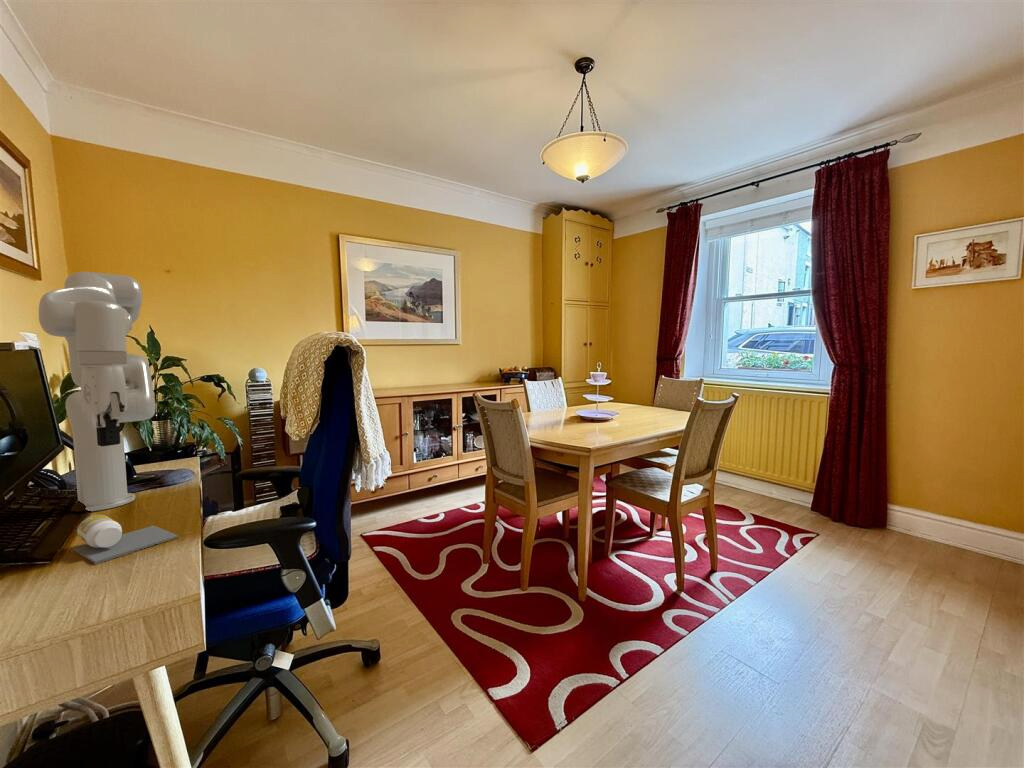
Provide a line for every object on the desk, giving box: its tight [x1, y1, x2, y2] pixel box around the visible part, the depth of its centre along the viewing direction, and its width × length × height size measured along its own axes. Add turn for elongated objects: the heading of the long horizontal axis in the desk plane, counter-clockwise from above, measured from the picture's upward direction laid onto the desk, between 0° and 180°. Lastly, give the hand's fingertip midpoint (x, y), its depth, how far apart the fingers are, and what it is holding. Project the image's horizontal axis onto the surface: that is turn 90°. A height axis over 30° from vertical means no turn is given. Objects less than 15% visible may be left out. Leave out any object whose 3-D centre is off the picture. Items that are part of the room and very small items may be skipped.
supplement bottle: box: [76, 514, 123, 548], centre depth 84 cm, size 5×5×10 cm
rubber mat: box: [73, 525, 179, 565], centre depth 86 cm, size 12×13×1 cm
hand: (109, 444), depth 88 cm, fingers closed
